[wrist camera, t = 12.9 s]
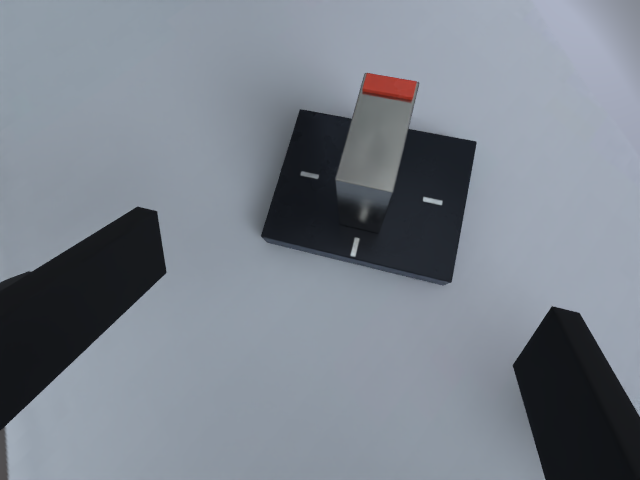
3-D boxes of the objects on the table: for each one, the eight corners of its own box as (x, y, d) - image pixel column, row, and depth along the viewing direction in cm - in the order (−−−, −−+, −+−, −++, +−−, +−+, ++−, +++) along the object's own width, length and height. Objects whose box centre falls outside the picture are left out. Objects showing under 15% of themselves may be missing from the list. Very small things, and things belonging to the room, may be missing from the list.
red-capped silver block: (379, 233, 25) (393, 191, 17) (339, 224, 25) (334, 178, 17) (398, 153, 26) (420, 78, 18) (360, 145, 26) (364, 69, 18)
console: (266, 242, 27) (259, 235, 25) (303, 122, 30) (299, 107, 28) (443, 285, 25) (452, 282, 23) (468, 153, 28) (477, 140, 26)
